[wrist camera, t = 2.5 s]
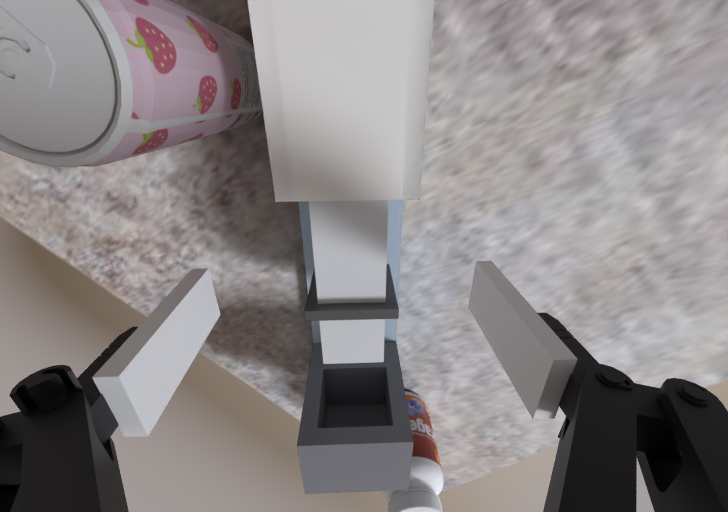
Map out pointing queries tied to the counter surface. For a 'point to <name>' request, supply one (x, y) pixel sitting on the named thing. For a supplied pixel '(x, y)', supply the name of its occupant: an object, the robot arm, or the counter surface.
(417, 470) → the pill bottle
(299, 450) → the socket
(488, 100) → the counter surface
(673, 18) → the counter surface
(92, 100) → the beverage can
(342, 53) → the sleeve
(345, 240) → the tube
